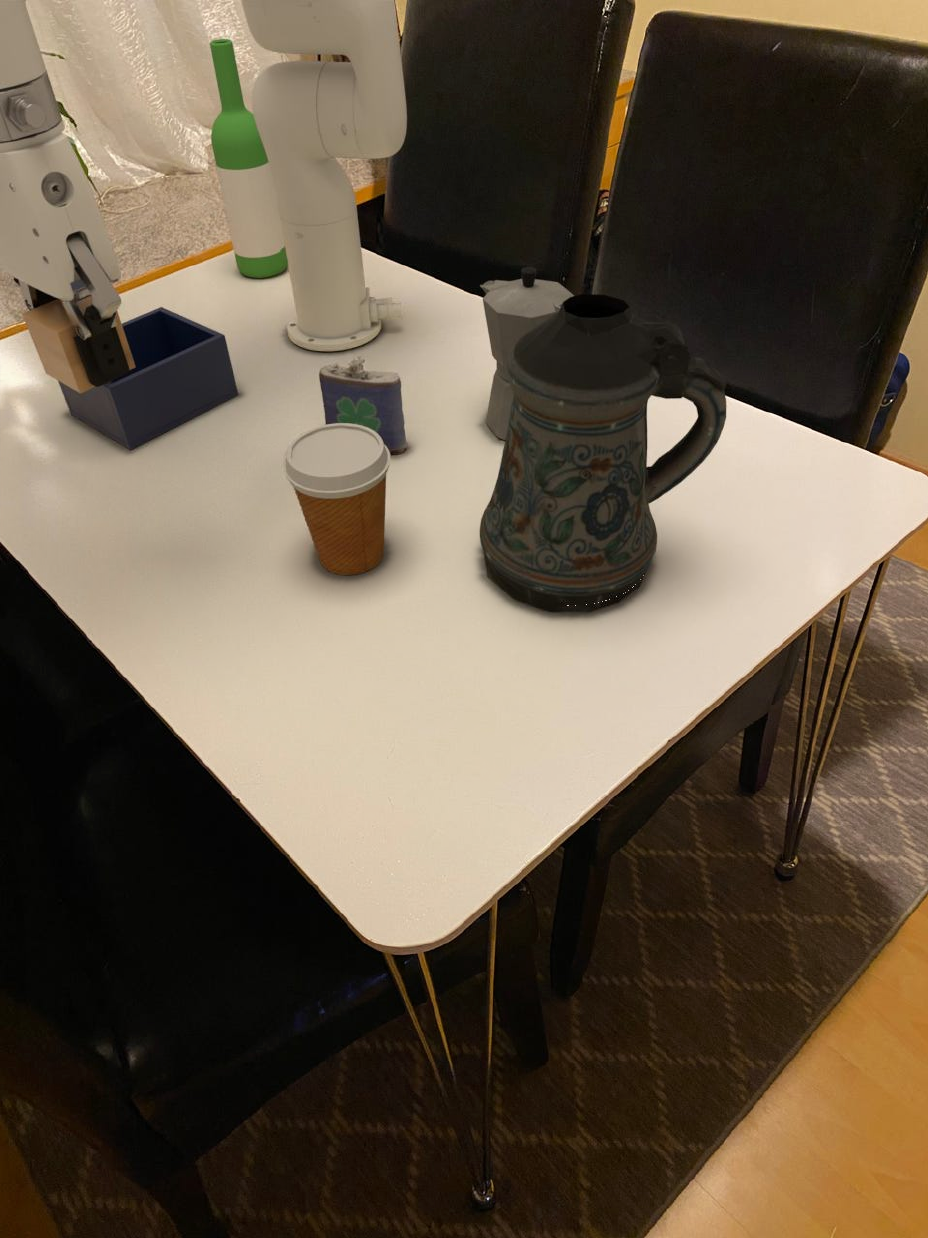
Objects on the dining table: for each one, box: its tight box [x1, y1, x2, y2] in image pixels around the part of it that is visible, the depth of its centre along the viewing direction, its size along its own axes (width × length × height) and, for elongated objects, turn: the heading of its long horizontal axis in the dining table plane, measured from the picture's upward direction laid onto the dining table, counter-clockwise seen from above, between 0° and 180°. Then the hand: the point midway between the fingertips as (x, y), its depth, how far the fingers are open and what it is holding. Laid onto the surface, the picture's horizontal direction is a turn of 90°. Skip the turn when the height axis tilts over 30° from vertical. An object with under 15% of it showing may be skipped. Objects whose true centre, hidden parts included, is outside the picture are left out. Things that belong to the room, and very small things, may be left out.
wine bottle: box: [209, 38, 288, 279], centre depth 127 cm, size 8×8×30 cm
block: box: [21, 296, 135, 393], centre depth 69 cm, size 5×5×5 cm
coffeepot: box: [479, 266, 575, 441], centre depth 96 cm, size 15×9×18 cm, turn 46°
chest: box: [57, 306, 239, 451], centre depth 106 cm, size 16×13×8 cm
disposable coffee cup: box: [282, 423, 392, 576], centre depth 83 cm, size 10×10×12 cm
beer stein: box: [479, 293, 728, 613], centre depth 77 cm, size 16×19×25 cm
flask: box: [318, 355, 407, 456], centre depth 97 cm, size 9×3×11 cm, turn 74°
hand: (89, 364), depth 70 cm, fingers closed on block, 5 cm apart
